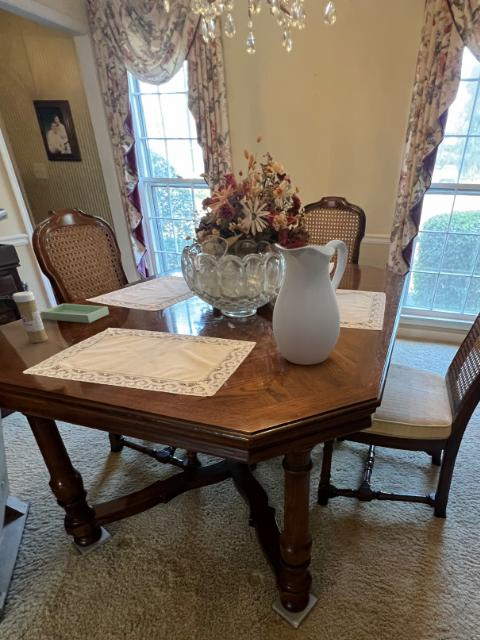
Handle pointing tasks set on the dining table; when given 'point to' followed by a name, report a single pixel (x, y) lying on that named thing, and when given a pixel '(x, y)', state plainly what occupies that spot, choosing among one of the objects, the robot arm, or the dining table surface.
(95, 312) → the tray
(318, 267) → the pitcher
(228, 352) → the dining table surface
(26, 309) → the sprinkles bottle
